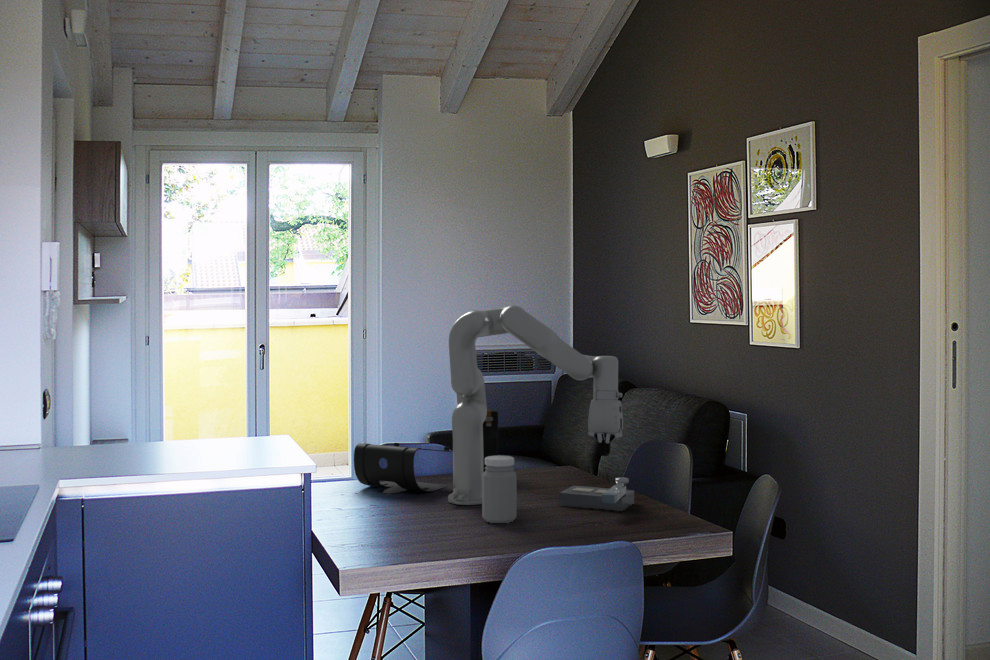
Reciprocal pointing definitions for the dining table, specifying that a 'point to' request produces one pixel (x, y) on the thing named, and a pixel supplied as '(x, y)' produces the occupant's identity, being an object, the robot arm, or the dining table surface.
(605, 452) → the robot arm
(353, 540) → the dining table surface
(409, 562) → the dining table surface
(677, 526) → the dining table surface
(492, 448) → the voltmeter
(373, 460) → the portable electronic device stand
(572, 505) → the chassis
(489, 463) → the jar
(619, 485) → the swing arm
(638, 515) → the dining table surface
